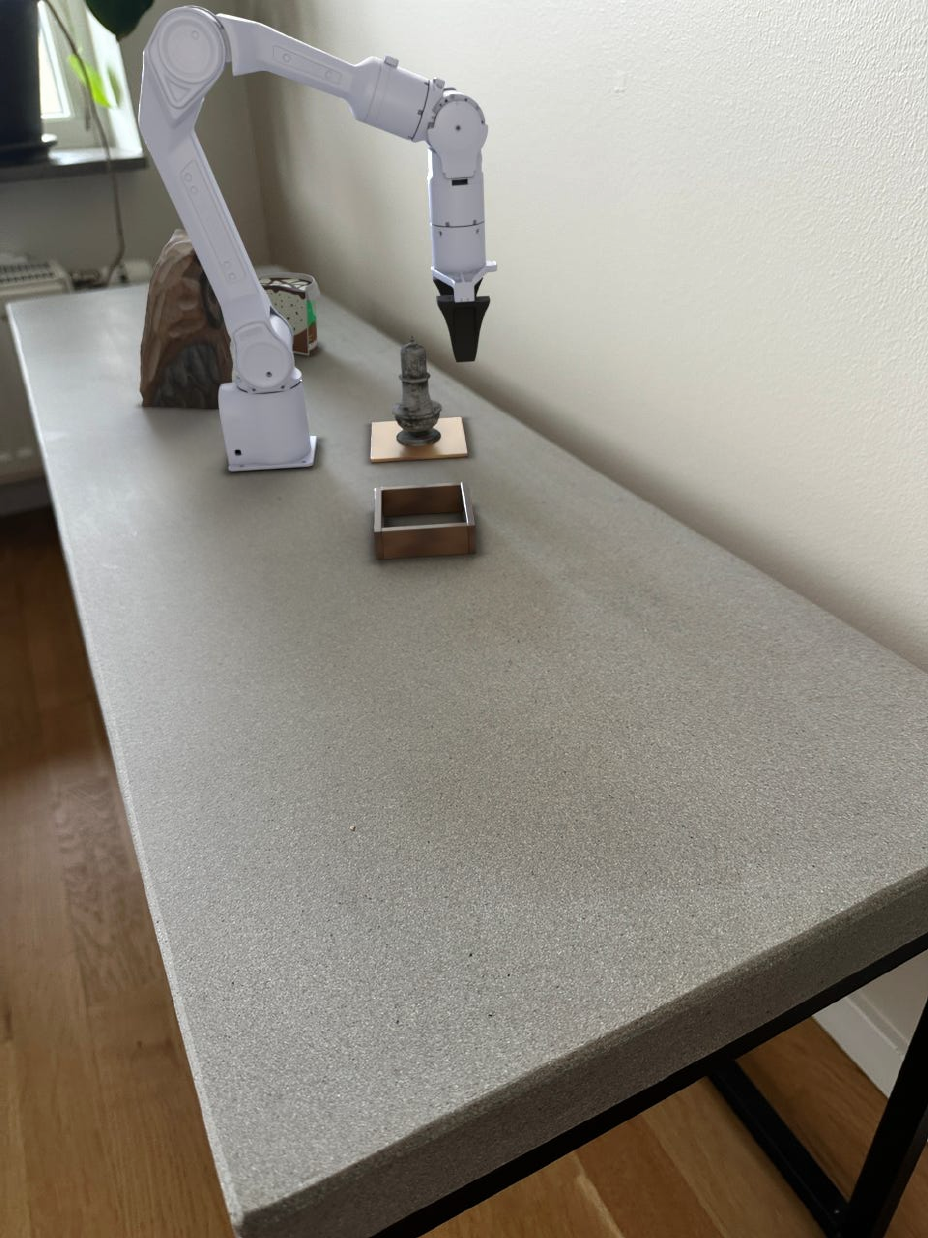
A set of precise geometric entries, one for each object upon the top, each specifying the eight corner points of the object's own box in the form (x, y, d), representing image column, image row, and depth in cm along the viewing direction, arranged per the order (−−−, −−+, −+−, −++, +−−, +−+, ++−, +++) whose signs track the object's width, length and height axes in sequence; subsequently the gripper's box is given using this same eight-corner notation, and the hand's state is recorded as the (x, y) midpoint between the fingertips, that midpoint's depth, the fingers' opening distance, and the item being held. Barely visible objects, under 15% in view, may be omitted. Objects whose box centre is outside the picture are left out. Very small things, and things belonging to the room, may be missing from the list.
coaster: (371, 462, 109) (370, 459, 109) (372, 425, 118) (371, 422, 118) (467, 456, 109) (467, 453, 109) (461, 419, 118) (461, 416, 118)
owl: (197, 374, 136) (168, 224, 125) (271, 384, 131) (248, 230, 120) (137, 405, 127) (100, 246, 116) (215, 417, 122) (183, 253, 111)
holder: (376, 560, 90) (373, 531, 89) (377, 514, 98) (374, 487, 97) (476, 553, 91) (475, 525, 89) (468, 508, 99) (467, 481, 97)
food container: (343, 345, 145) (336, 276, 139) (317, 357, 140) (308, 287, 135) (281, 334, 150) (272, 268, 145) (254, 345, 146) (243, 277, 141)
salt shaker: (437, 448, 110) (431, 344, 104) (388, 445, 112) (379, 343, 105) (448, 428, 115) (443, 328, 109) (400, 426, 116) (393, 327, 110)
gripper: (502, 234, 95) (505, 368, 102) (489, 205, 107) (492, 328, 114) (431, 238, 94) (439, 373, 102) (425, 209, 106) (433, 331, 114)
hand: (463, 349), depth 108 cm, fingers open, 7 cm apart
